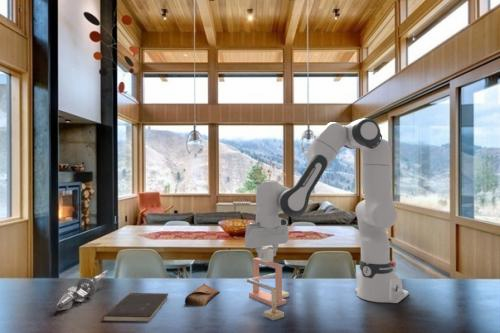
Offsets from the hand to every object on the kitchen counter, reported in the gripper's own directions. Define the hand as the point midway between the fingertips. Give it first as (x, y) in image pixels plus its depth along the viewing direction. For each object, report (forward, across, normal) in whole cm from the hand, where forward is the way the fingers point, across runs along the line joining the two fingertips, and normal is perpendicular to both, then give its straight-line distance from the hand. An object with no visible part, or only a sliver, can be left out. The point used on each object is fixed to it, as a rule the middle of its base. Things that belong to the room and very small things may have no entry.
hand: (267, 256), depth 138 cm
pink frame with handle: (+17, 0, 0) cm, 17 cm away
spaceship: (+17, -55, +46) cm, 74 cm away
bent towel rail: (+17, -1, -7) cm, 18 cm away
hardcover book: (+17, -43, +22) cm, 51 cm away
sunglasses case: (+17, -18, +17) cm, 31 cm away
